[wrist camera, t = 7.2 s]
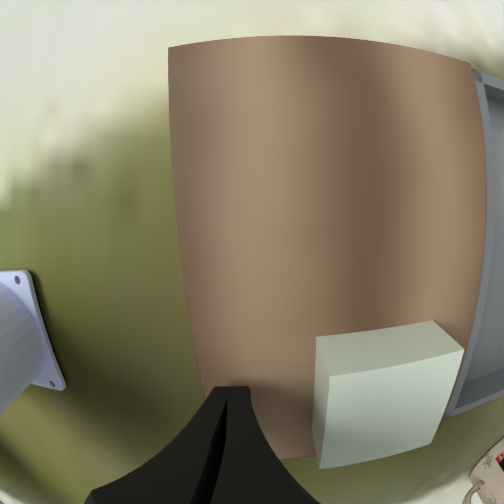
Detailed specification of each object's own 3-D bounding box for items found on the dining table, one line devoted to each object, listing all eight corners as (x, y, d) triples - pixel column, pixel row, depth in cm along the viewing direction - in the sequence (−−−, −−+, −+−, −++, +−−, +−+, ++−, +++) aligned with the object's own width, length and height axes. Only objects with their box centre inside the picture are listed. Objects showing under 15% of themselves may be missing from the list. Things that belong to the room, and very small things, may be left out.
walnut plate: (224, 422, 15) (219, 460, 12) (186, 74, 11) (168, 47, 8) (420, 397, 15) (439, 427, 12) (436, 79, 11) (470, 63, 8)
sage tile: (311, 428, 12) (319, 469, 9) (316, 336, 11) (329, 376, 8) (410, 410, 12) (430, 443, 9) (432, 320, 10) (464, 349, 8)
